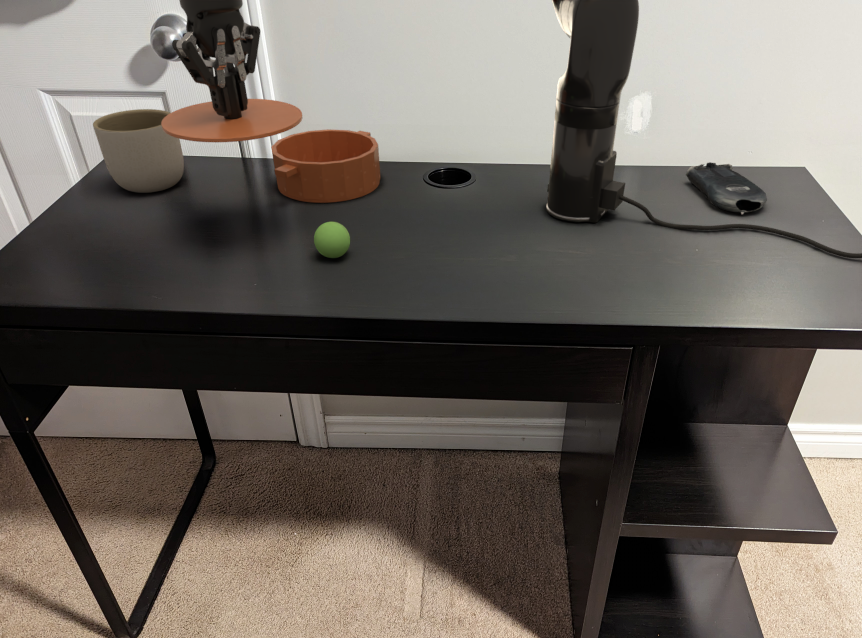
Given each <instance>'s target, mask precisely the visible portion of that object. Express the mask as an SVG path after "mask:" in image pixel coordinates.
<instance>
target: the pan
mask: <svg viewBox="0 0 862 638" xmlns="http://www.w3.org/2000/svg"><path fill="white" fill-rule="evenodd" d="M271 153H272V160H273V168H274V175H275V179H276V184H277V189H278V191H279V192H280V193H281V194H282V195H283V196H285V197H287V198H290V199H292V200H295V201H299V202H306V203H314V204H315V203H318V204H320V203H321V204H324V203H325V204H327V203H329V204H330V203H337V202H345V201H351V200H355V199H358V198H362V197H364V196H366V195H369V194H370V193H372V192H374V191H375V190H376V189H378V187H379V185H380V182H381V166H380V165H381V164H380V149H379V143H378V141H377V139H376V138H375V137H373V136H371V132H368V131H364V130H358V131H354V130H350V129H349V130H348V129H331V128H330V129H315V130H307V131H302V132H297V133H293V134H290V135H287V136H284V137H282V138H280V139H277V140H276V142H275V143H274V144H272V145H271Z"/></svg>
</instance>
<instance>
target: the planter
mask: <svg viewBox="0 0 862 638" xmlns="http://www.w3.org/2000/svg"><path fill="white" fill-rule="evenodd" d="M170 113H171V112H170V111H167V110H163V109H153V108H141V109H139V108H137V109H128V110H121V111H116V112H111V113H108V114H106V115H102V116H100V117H98V118H97V119H95V120H94V121H93V123H92V127H93V131H94V133H95V137H96V139H97V140H96V141H97V143H98V146H99V149H100V152H101V155H102V158H103V161H104V163H105V167H106V169H107V170H108V173H109V175H110V176H111V178H112V179H113V181H114V182H115V183H116V184H117V185H118V186H119V187H121V188H122V189H124V190H125V191H129V192H132V193H140V194H148V193H156V192H162V191H165V190H167V189H170V188H172V187H174V186H175V185H177V184H178V183H179V182H180V180H181V179H182V177H183V175H184V170H185V161H184V154H183V149H182V143H181V139H179V138H175V137H173V136H170V135H168V134H167V133H165V132H164V131H163V129H162V126H161V122H162V120H163V119H164V117H166V116H167V115H168V114H170Z"/></svg>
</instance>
